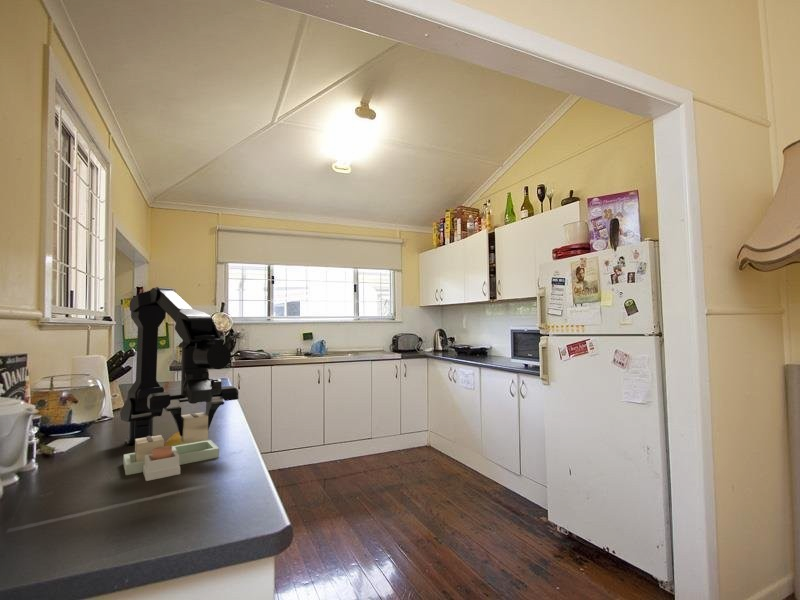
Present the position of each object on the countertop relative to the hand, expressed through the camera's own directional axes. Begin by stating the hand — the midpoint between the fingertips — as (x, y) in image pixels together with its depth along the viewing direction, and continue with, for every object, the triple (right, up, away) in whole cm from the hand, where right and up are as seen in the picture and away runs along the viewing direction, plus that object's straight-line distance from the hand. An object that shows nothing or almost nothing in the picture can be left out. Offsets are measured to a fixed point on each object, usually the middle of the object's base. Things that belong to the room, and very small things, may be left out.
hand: (194, 433), depth 96 cm
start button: (-1, -1, -11) cm, 11 cm away
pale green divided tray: (-3, -6, -3) cm, 7 cm away
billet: (0, -1, 0) cm, 1 cm away
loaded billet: (-7, -5, -6) cm, 10 cm away
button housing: (-1, -5, -11) cm, 12 cm away
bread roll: (-8, -7, +9) cm, 14 cm away
